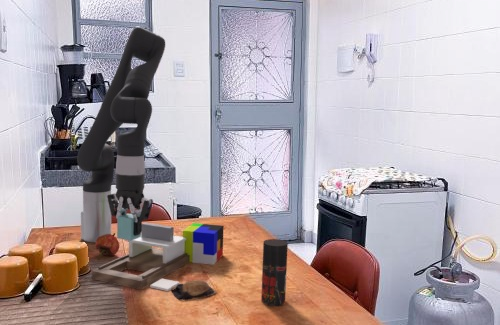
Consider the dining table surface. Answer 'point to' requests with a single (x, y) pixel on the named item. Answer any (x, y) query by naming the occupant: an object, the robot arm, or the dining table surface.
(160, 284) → the pad
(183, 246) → the cover
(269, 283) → the deodorant
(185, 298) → the bread roll
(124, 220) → the block
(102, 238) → the pomegranate
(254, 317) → the dining table surface
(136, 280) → the brown flat frame
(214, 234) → the puzzle toy
